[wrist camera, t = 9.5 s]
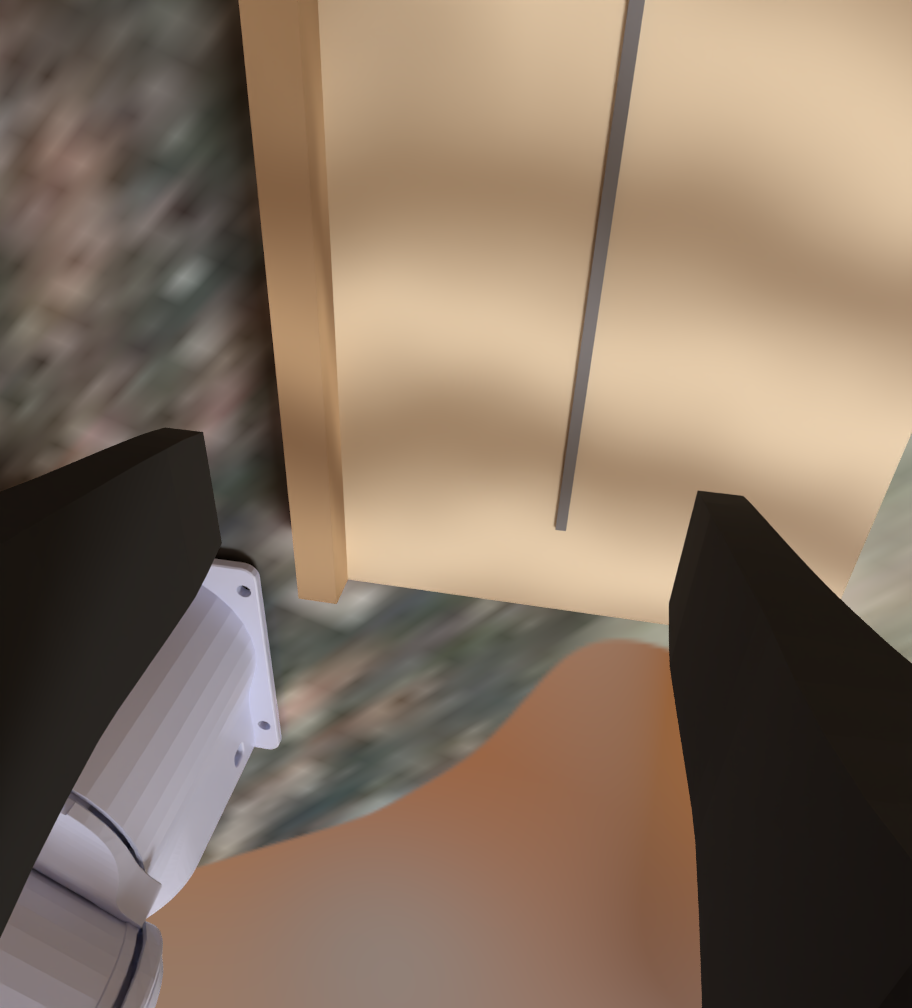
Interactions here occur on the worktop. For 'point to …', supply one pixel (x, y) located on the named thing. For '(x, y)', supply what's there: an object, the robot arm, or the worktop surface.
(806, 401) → the board
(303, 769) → the worktop surface
